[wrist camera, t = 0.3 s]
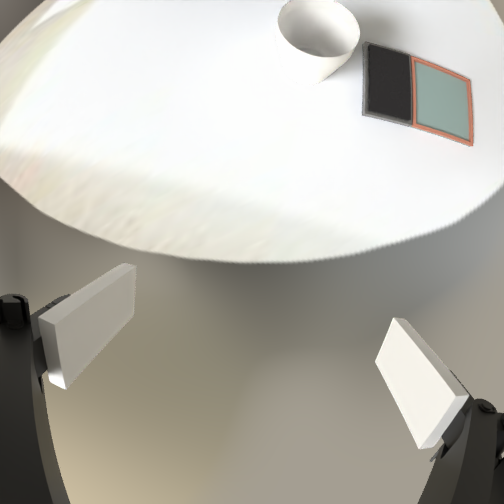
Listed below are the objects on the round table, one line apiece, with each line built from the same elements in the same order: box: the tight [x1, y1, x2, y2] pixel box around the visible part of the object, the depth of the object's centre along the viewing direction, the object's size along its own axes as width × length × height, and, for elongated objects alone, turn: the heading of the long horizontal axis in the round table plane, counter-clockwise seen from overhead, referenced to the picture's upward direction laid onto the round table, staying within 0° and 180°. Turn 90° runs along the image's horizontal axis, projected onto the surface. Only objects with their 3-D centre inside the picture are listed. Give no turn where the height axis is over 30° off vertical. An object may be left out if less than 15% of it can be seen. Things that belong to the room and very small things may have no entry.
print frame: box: [410, 56, 473, 147], centre depth 33 cm, size 12×12×1 cm
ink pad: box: [362, 42, 412, 127], centre depth 33 cm, size 12×8×2 cm, turn 175°
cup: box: [276, 0, 360, 85], centre depth 28 cm, size 9×9×12 cm
